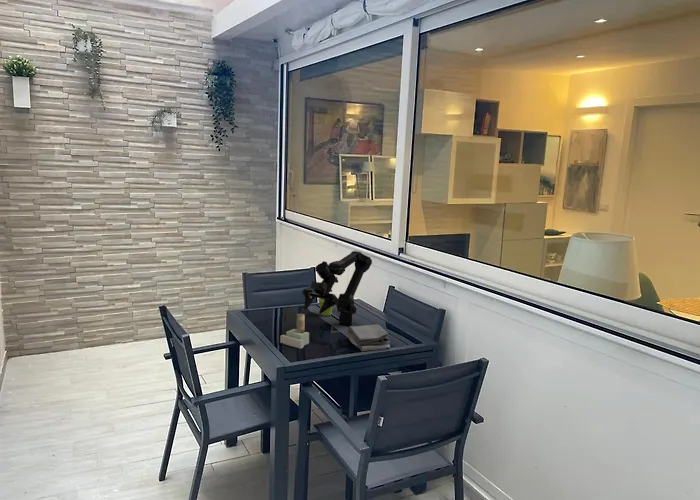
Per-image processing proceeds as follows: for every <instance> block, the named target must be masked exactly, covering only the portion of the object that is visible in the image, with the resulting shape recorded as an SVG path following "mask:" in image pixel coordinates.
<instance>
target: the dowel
mask: <svg viewBox="0 0 700 500" xmlns="http://www.w3.org/2000/svg"><path fill="white" fill-rule="evenodd" d="M305 316H306V314H304V313H297V314H296V329H297V332H298V333H304V332H305V327H306V326H305V325H306V324H305V321H306V320H305V319H306V318H305Z"/></svg>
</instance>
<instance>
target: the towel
mask: <svg viewBox="0 0 700 500" xmlns="http://www.w3.org/2000/svg"><path fill="white" fill-rule="evenodd" d="M347 332H348V334H347V335H348V340H349V341H350V342H351V343H352V344H353V346H354V345H355V347H357V348H358V349H359V350H360V352H366V351H367V352H368V351H378V350H379V349H381V350H387V349H386V348H390V349H391V345H390V339H389V337H388V336H389V334H390V333H388V331H386V330H385V329H383V327H381V325H379V324H369V325H359V326H358V325H357V326H356V325H354V326H353V325H352V326H348V329H347Z"/></svg>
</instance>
